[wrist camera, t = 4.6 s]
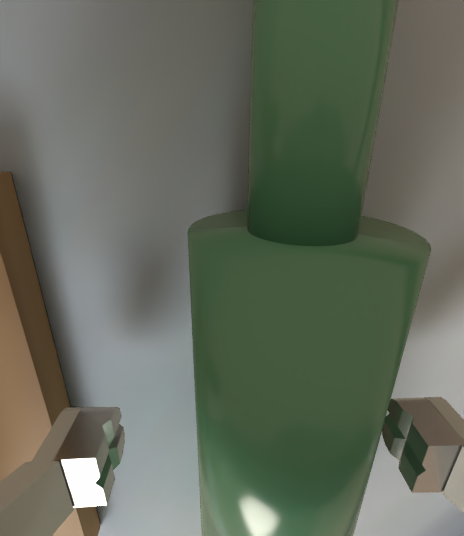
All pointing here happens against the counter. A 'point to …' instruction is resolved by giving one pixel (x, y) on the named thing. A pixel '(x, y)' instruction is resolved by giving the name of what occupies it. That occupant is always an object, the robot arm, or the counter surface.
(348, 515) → the bottle
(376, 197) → the counter surface
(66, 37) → the counter surface
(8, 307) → the bottle rest
